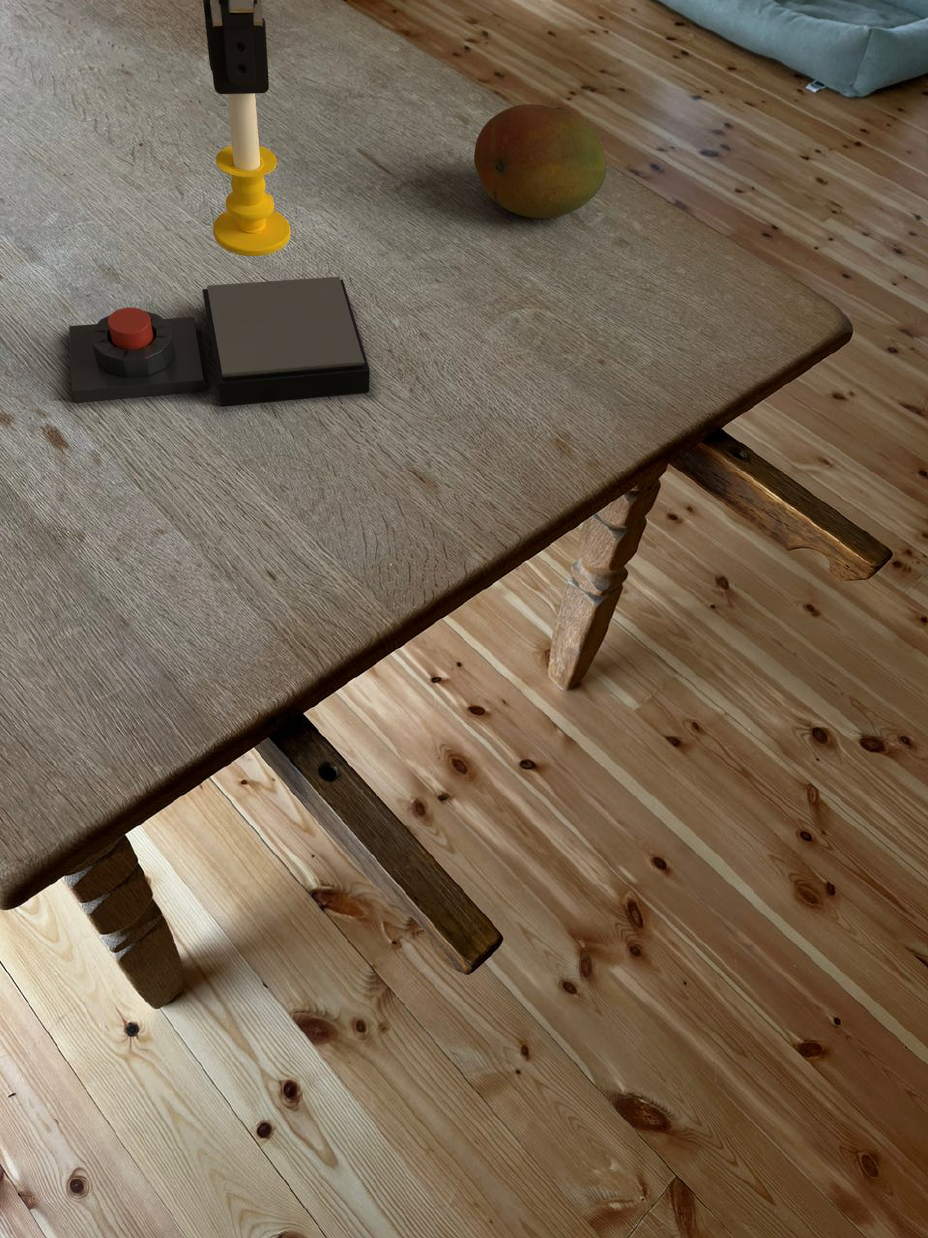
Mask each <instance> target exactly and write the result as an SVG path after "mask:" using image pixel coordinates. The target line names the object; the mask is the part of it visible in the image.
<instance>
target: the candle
mask: <svg viewBox="0 0 928 1238" xmlns="http://www.w3.org/2000/svg"><path fill="white" fill-rule="evenodd" d="M227 101H228V102H227V103H228V114H229V115H228V117H229V125H230V126H229V127H230V137H231V138H230V139H231V145H229V146H226V147H224V148H222V149H221V150H220V151H219V152H218V153H217V154H216V156H215V164H216V166H217V168H218V169H220V171H221V172H223V173H225V174H226V175H229V176H231V180H230V187H231V189H232V192H230V193H229V194H228V195H227V196H226V199H225V210H226V211H224V212H222V213H220V214H219V215H218V216H217V217H216V219H215V220H214V222H213V225H212V233H213V238H214V240H215V242H216V244H218V245H219V246H220V247H221V248H223V249H224V250H226V251H227V252H230V253H232V254H235V255H238V256H242V257H243V256H245V257H262V256H268V255H271V254H274V253H276V252H278V251H280V250H282V249H283V248H284V247H286V245H287V244H288V243H289V241H290V239H291V235H292V234H291V224H290V222H289V221H288V219H287V218H286V217H285V216H284V215H283V214H281V213H280V212H278V211H276V210H275V200H274V198H273V197H272V196H271V194H270V193H268V192H266V187H267V184H266V180H265V178H264V177H265V176H267V175H268V174H270V173H272V172H273V171H274V170H275V169H276V167H277V166H278V165H277V164H278V160H277V158H278V157H277V156H276V155H275V153H274V152H273V151H271V150H270V149H269V148H267V147H264V146H261V145H260V142H259V141H260V140H259V127H258V114H257V102H256V94H227Z"/></svg>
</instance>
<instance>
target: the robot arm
mask: <svg viewBox="0 0 928 1238" xmlns="http://www.w3.org/2000/svg"><path fill="white" fill-rule="evenodd" d="M262 2H263V1H262V0H202V3H203V12H204V13H203V14H204V23H205V34H206V43H207V52H208V64H209V68H210V71H211V73H212V82H213V89H214V91H215V92H216V93H217V94H219V95H228V94H255V95H256V94H257V95H258V94H266V93H267V92H268V91H269V89H270V79H269V63H268V62H269V61H268V46H267V29H266V28H267V27H266V19H265V18H264V17H263V4H262Z"/></svg>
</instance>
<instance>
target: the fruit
mask: <svg viewBox="0 0 928 1238" xmlns="http://www.w3.org/2000/svg"><path fill="white" fill-rule="evenodd" d="M602 145H603V144H602V143H601V141H600V139H599V137H598V135H597V133H596V132H595V131H594V129H593V128H592V127H591V126H590V125H588V124H587V122H585V121H583V120H582V119H581V118H579V117H577V116H576V115H574V114H573V113H570V112H568V111H565V110H563V109H559V108H557V107H552V106H548V105H543V104H537V103H536V104H535V103H532V104H531V103H524V104H523V103H522V104H517V105H514V106H511V107H508V108H506V109H504V110H502V111H500V112H498V113H497V114H495V115H494V116H492V118H490V119H489V120H488V121H487V122H486V123H485V124H484V126H483V127H482V129H481V130H480V132H479V134H478V136H477V139H476V142H475V146H474V153H473V154H474V155H473V160H474V161H473V163H474V167H475V170H476V173H477V176H478V179H479V180H480V181H479V182H480V183H481V185H482V187H483V190H485V192H486V193H487V194H488V196H489V197H490V199H492V201H494V202H495V203H496V204H497V205H498V206H500V207H501V208H503V209H505V210H507V211H508V212H511V213H514V214H516V215H519V216H522V217H527V218H533V219H552V218H558V217H561V216H566V215H569V214H571V213H573V212H575V211H577V210H579V209H581V208H582V207H584V205H586V204H587V203H589V202H590V201H591V200H593V198H594V197H595V196H596V195H597V193H598V192H599V191H600V190H601V189H602V187H603V185H604V182H605V180H606V176H607V158H606V154H605V151H604V148H603V146H602Z"/></svg>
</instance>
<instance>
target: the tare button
mask: <svg viewBox="0 0 928 1238" xmlns="http://www.w3.org/2000/svg"><path fill="white" fill-rule="evenodd" d="M145 311H146V310H144V309H141V308H139V307H138V308H136V307H123V308H119V309H117V310H114V311H113V312H112V313H111V314H109V315H110V316H109V315H108V316H109V318H108V326H109V330H110V335H111V339H112V342H113V344H114V345H115V346H116V347H118V348H120V349H124V350H135V349H142V348H144V347H146V346H148V345H150V344H151V342H152V340H153V332H152V326H151V321H150V317H149V315H148V314H147V313H146V312H145Z"/></svg>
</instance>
